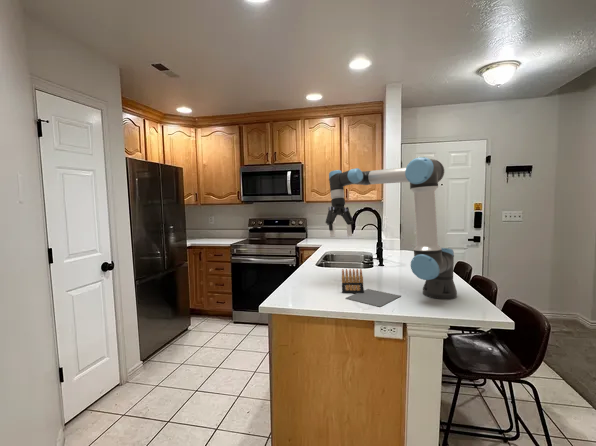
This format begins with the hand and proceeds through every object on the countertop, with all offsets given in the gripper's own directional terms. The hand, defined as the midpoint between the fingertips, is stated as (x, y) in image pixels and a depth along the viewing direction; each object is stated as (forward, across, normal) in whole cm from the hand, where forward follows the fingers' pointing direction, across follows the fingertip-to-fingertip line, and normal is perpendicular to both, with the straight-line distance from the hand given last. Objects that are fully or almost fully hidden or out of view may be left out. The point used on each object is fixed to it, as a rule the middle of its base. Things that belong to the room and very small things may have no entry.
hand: (341, 236), depth 170 cm
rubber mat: (+31, +5, +21) cm, 38 cm away
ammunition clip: (+29, +6, +10) cm, 31 cm away
